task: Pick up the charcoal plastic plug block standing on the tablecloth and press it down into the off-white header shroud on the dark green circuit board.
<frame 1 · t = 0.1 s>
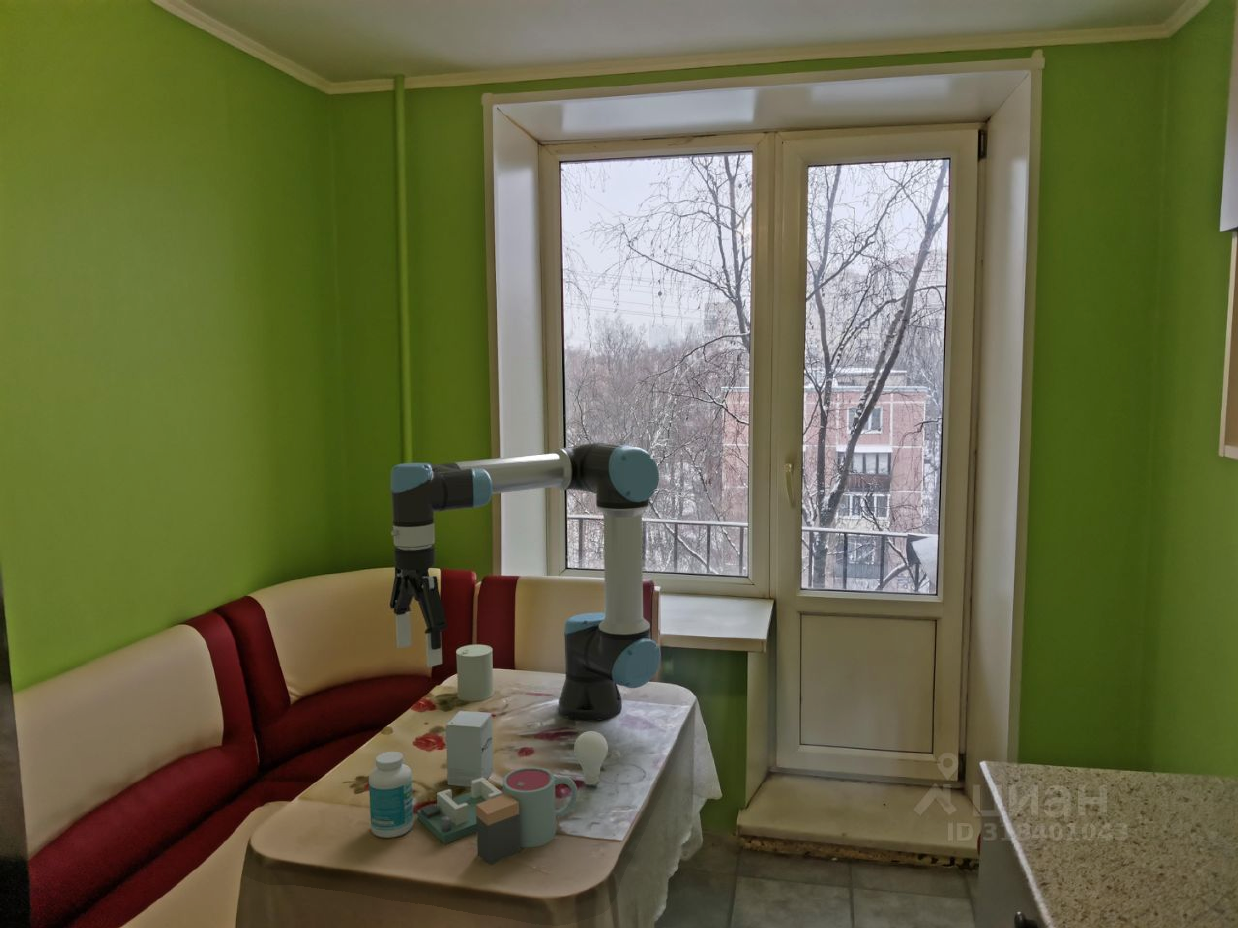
hand: (419, 655, 162), 28 cm above the table, fingers open, 13 cm apart
supplement box: (471, 779, 172), on the table
mug: (542, 830, 153), on the table
plug: (499, 853, 146), on the table
can: (475, 694, 216), on the table
board: (465, 817, 157), on the table
pill bottle: (392, 829, 154), on the table
light bulb: (591, 786, 168), on the table
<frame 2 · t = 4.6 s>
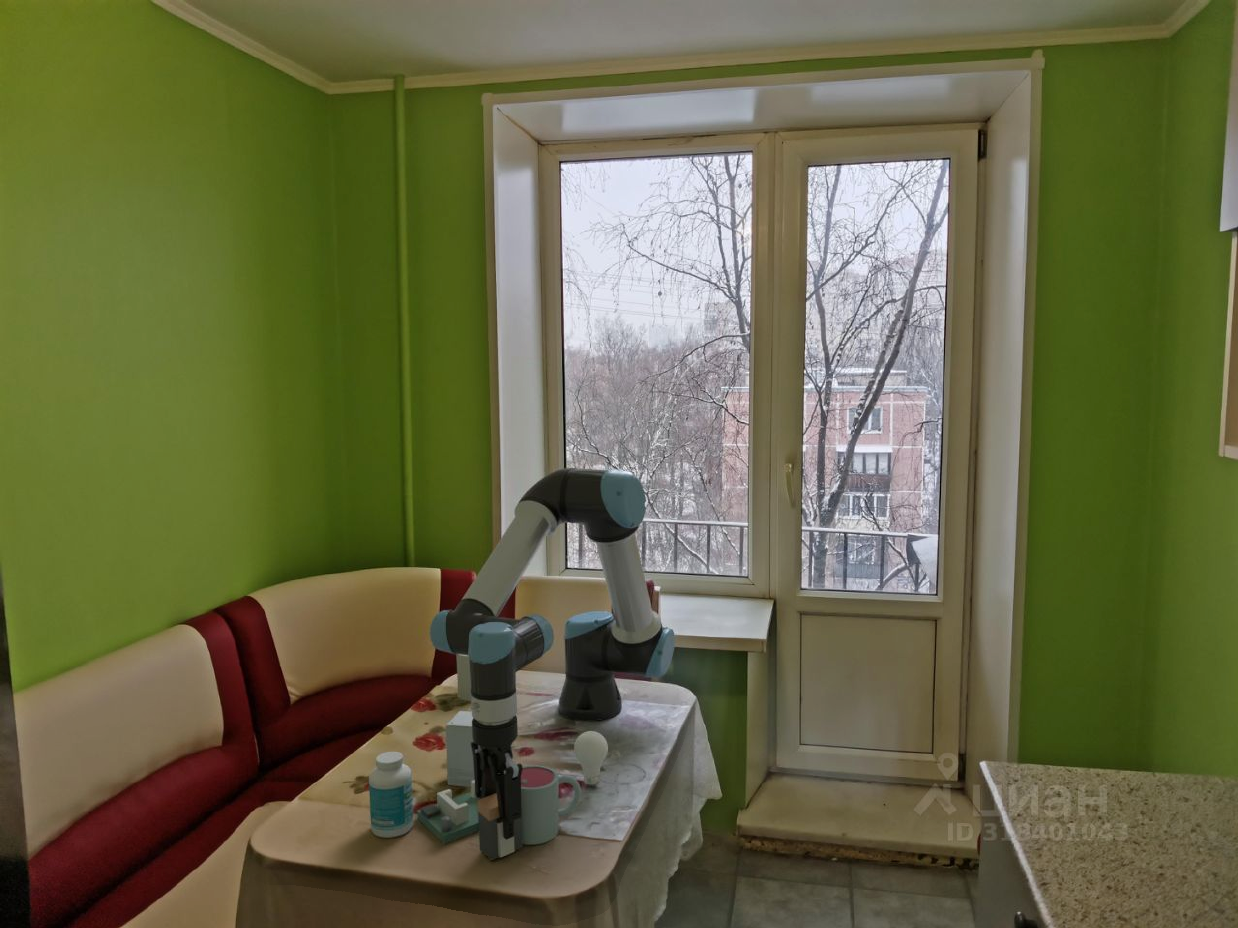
hand: (499, 846, 146), 1 cm above the table, fingers closed on plug, 4 cm apart
mug: (544, 829, 153), on the table
plug: (501, 848, 146), point 1 cm above the table, touching gripper
everything else where it was.
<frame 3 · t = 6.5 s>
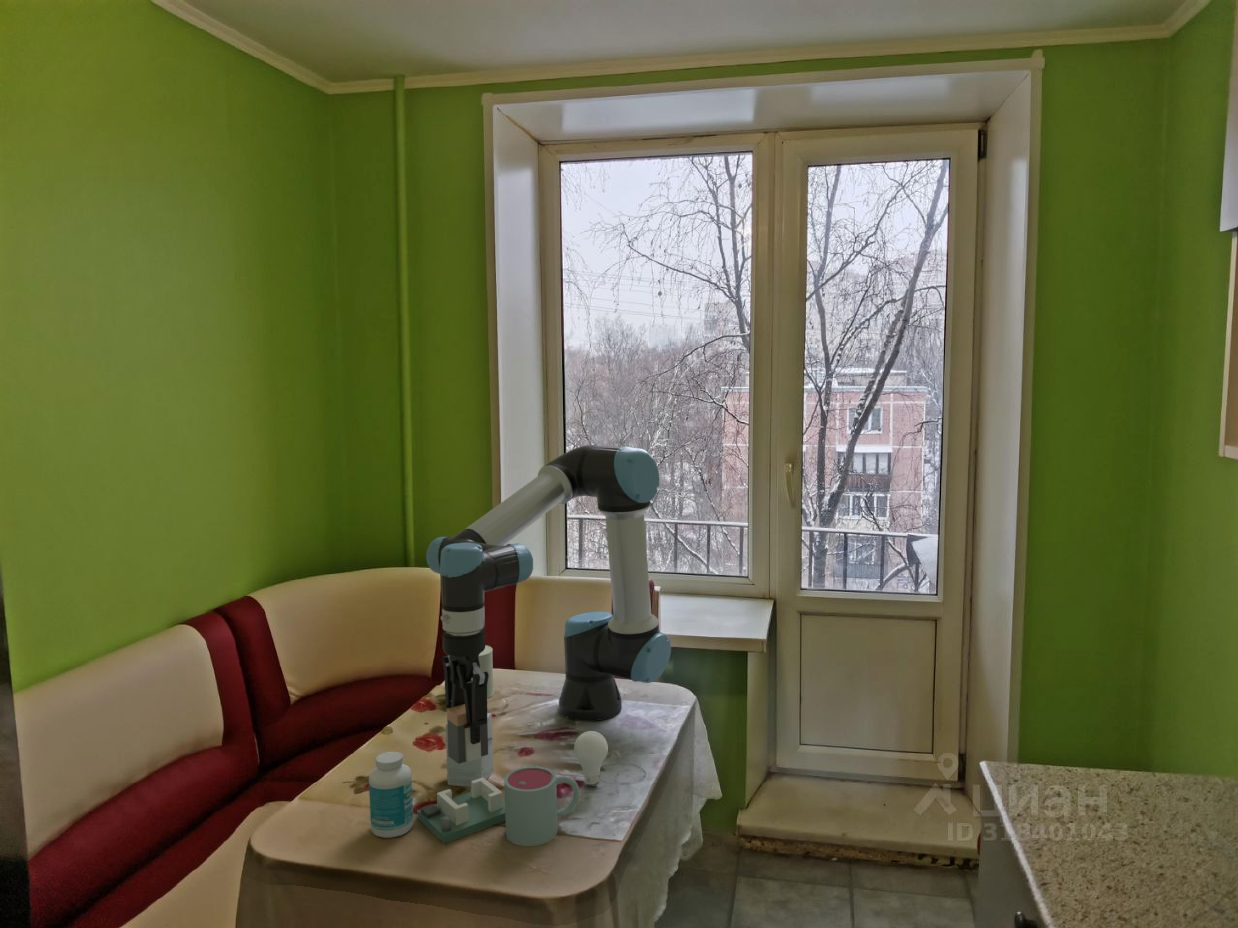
hand: (467, 753, 156), 12 cm above the table, fingers closed on plug, 4 cm apart
mug: (544, 829, 153), on the table
plug: (468, 755, 156), point 12 cm above the table, touching gripper
everything else where it was.
when the fingers open (3 cm above the table, at t = 8.5 s): plug stays where it is, resting on board.
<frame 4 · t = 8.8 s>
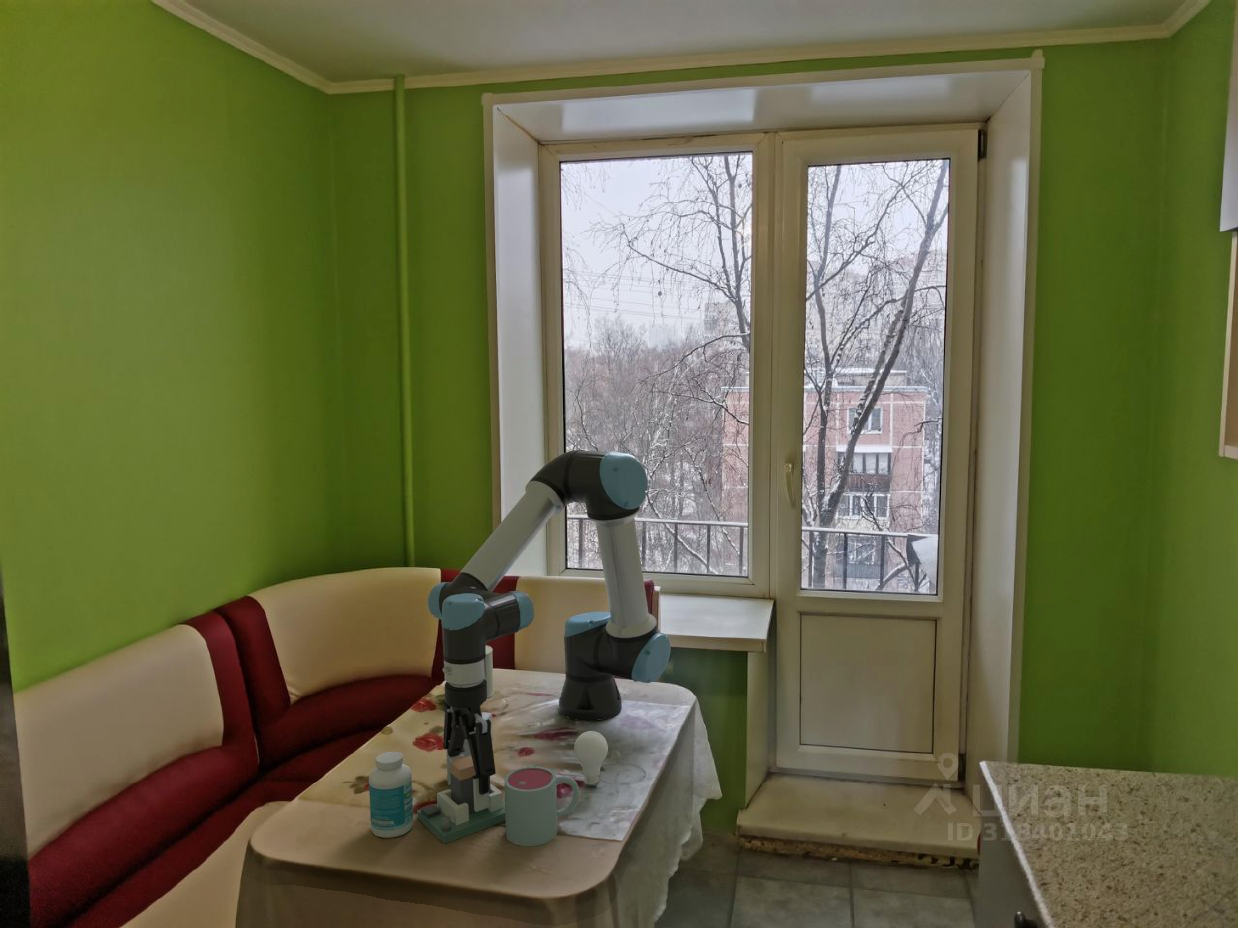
hand: (469, 798, 157), 3 cm above the table, fingers open, 8 cm apart
plug: (471, 807, 158), point 1 cm above the table, touching board
everything else where it was.
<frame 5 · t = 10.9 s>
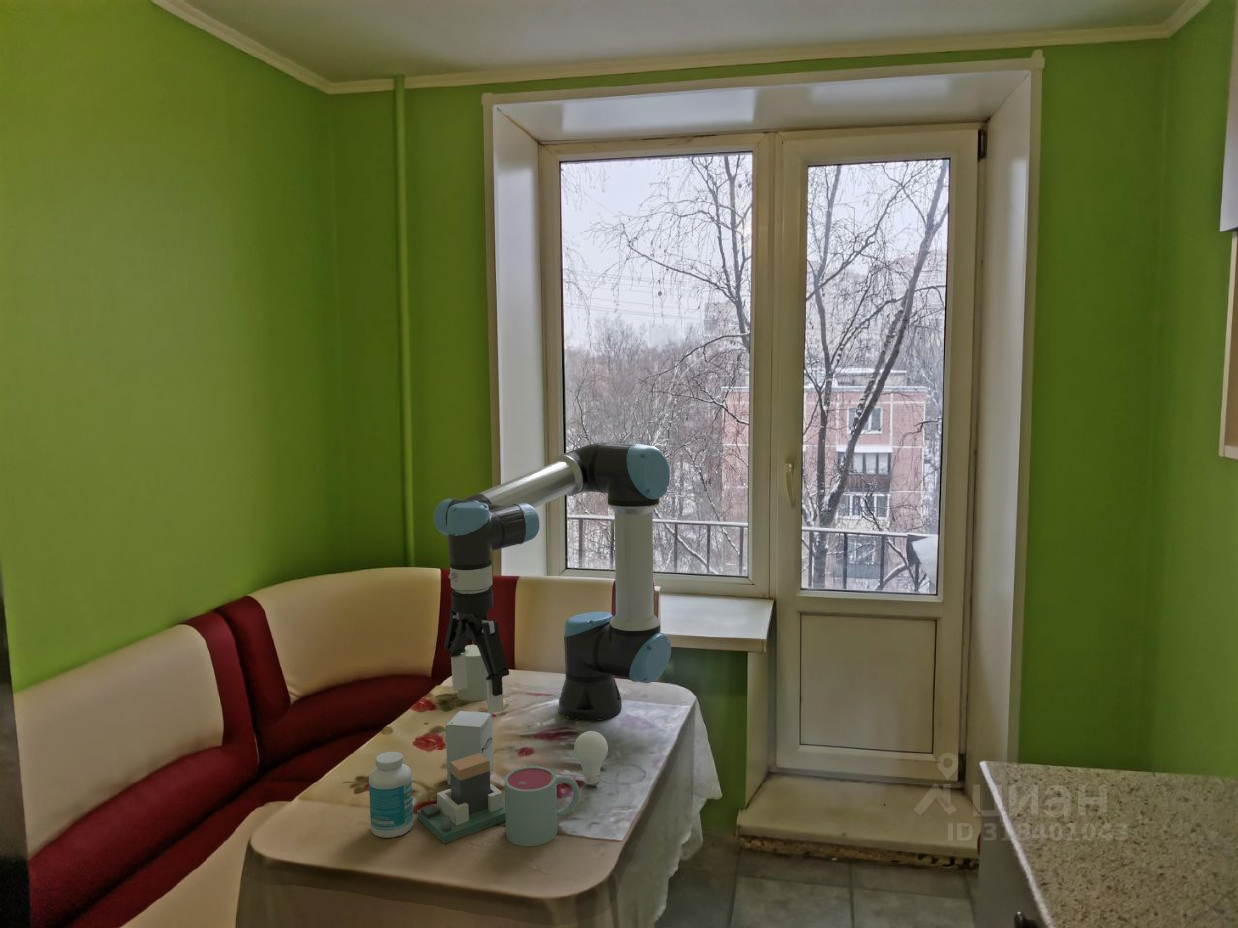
hand: (477, 699, 158), 21 cm above the table, fingers open, 13 cm apart
nothing on the table moved.
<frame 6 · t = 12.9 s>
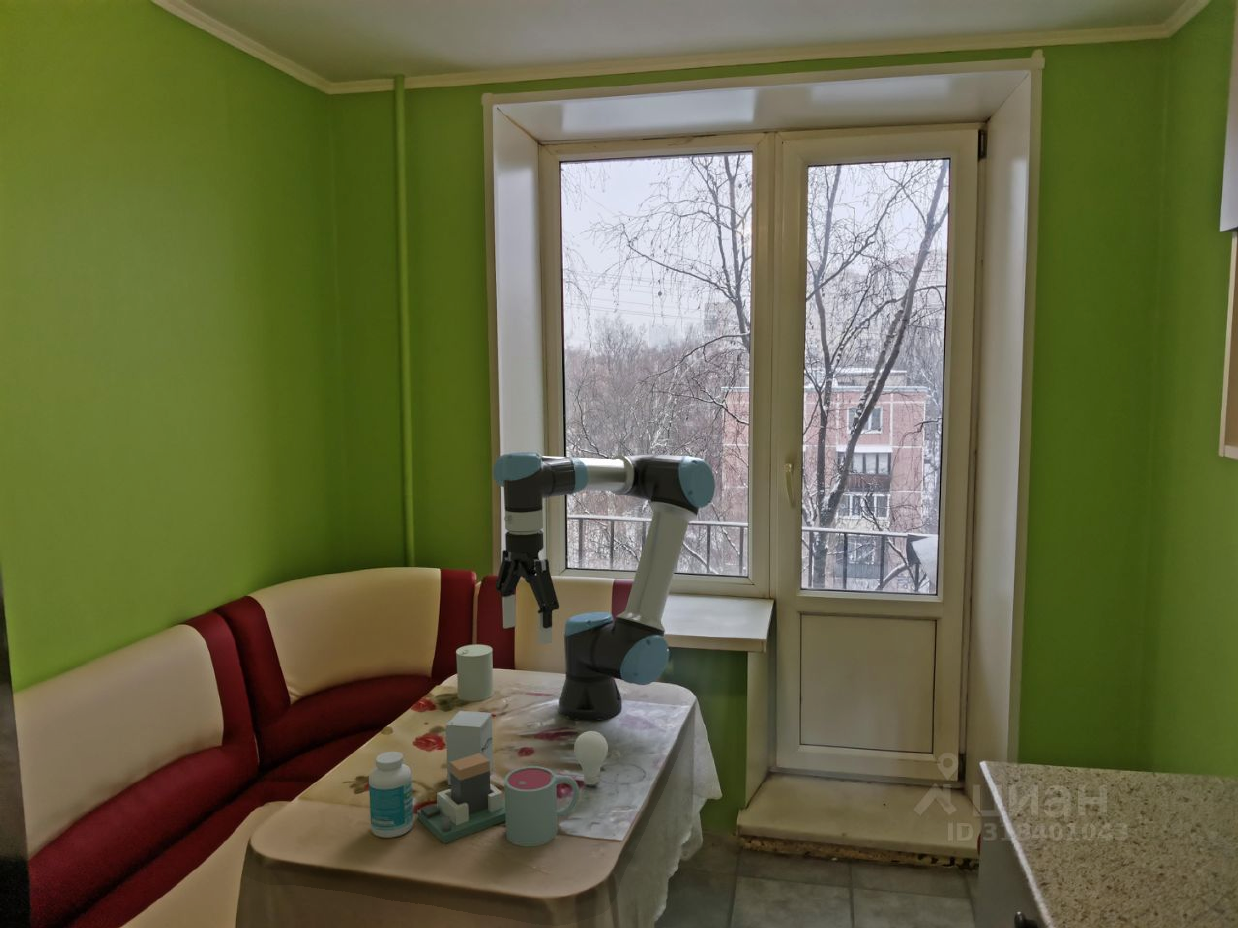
hand: (527, 634, 172), 29 cm above the table, fingers open, 13 cm apart
nothing on the table moved.
at the end: plug 0.2 cm from the target spot on the board, point 1.5 cm above the board's base; plug tilted 0°; the gripper is holding nothing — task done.
